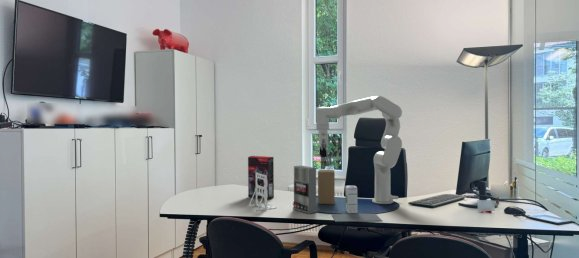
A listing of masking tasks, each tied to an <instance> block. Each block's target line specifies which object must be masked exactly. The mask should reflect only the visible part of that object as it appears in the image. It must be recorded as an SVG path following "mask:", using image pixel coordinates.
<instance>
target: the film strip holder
mask: <svg viewBox="0 0 579 258" xmlns="http://www.w3.org/2000/svg"><path fill="white" fill-rule="evenodd" d="M255 175H256V188H255V192H256V198H255V203H252V201H253V198H254V194H255V192H254V194H253V196H252V197H251V199H250V201H249V203H248V205H247V206H246V207H247V208H253V207H257V209H255V211H256V212H260V211H261V212H262V211H267V210H275V209H278V207H277V206H274V205H271V204H270V203H268V200H269V199H267V197H268V194H267V175H263V174H259V173H256V174H255ZM257 175H258V177H257ZM259 175H260V177H259ZM261 176H262V178H261ZM263 177H264V179H263ZM258 178H259V179H263V180H264V187H262V186H259V185H258V183H257V179H258ZM258 188H259V192H258ZM260 189H261V193H260ZM263 190H264V194H263ZM258 195H260V196H263V197H264V199H263V197H262V198H260V201H259V200H258V199H259V198H257V197H258ZM263 200H264V202H263V203H262V201H263ZM252 206H253V207H252Z"/></svg>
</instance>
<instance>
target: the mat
mask: <svg viewBox="0 0 579 258" xmlns="http://www.w3.org/2000/svg"><path fill="white" fill-rule="evenodd" d="M331 217H332V218H333V220H334V222H335V223H343V222H344V223H350V222H353V223H354V222H355V223H356V222H361V223H362V222H363V223H364V222H383V220H382V218H381V217H379V216H378V215H377V214H376V213H331Z"/></svg>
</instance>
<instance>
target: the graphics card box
mask: <svg viewBox="0 0 579 258" xmlns="http://www.w3.org/2000/svg"><path fill="white" fill-rule="evenodd" d="M274 159H275V158H274V156H266V155H265V156H263V155H262V156H261V155H250V156H248V157H247V181H248V183H247V186H248V190H247V192H248V193H247V195H248V197H249V198H252V196H253V194H254V192H255V188H256V175H255V174H256V173H259V174H263V175H267V194H268V197H267V200H270V199H274V198H275V193H274V192H275V191H274V190H275V188H274V187H275V183H274V182H275V181H274V179H275V178H274V176H275V175H274V171H275V170H274V164H275V163H274ZM257 177H258V175H257ZM259 177H260V175H259ZM261 178H262V176H261ZM263 179H264V177H263ZM263 179H259V178H258V179H257V183H258V185H259V186H262V187H264V180H263ZM258 192H259V188H258ZM260 193H261V189H260ZM263 194H264V190H263ZM262 197H263V196H260V195H258V197H257V199H262ZM253 198H255V199H256V192H255V194H254V197H253ZM262 200H264V197H263V199H262Z"/></svg>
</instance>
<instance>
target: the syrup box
mask: <svg viewBox="0 0 579 258" xmlns="http://www.w3.org/2000/svg"><path fill="white" fill-rule="evenodd" d="M344 188H345V192H344V193H345V194H344V195H345V198H344V199H345V212H346V211H347V212H346V214H358V187H357V186H356V185H345V187H344Z"/></svg>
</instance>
